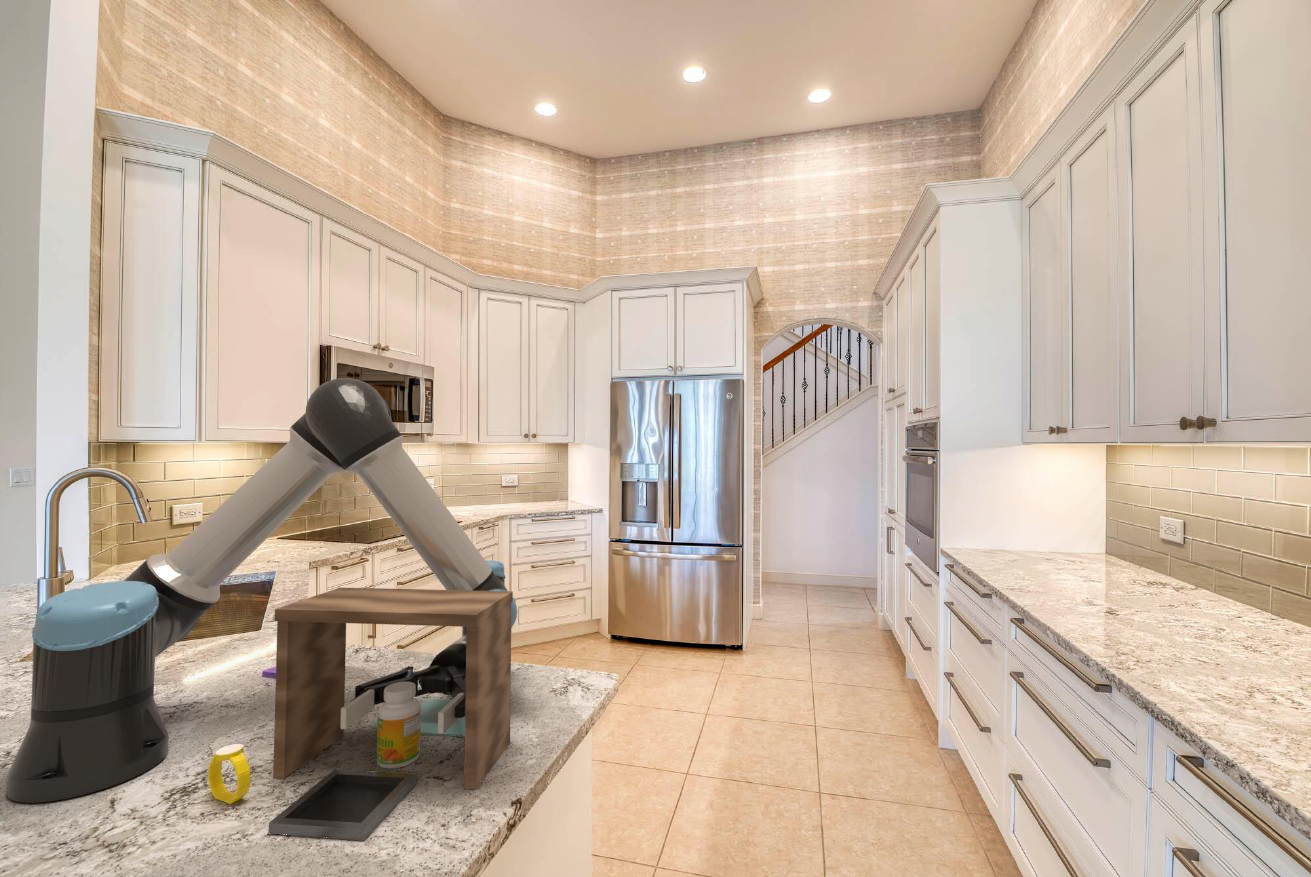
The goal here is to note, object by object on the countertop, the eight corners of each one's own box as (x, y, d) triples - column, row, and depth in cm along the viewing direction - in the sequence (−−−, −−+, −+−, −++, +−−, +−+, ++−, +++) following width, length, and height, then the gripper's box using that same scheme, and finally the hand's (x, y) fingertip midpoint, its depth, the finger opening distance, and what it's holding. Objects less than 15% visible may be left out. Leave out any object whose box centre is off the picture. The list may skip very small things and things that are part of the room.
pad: (425, 699, 98) (425, 698, 98) (494, 702, 97) (494, 701, 97) (386, 732, 86) (386, 730, 86) (463, 736, 85) (463, 734, 85)
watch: (201, 802, 69) (200, 750, 69) (226, 790, 72) (225, 740, 72) (232, 810, 67) (231, 757, 67) (257, 797, 69) (256, 746, 70)
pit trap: (334, 778, 73) (334, 769, 74) (416, 783, 72) (416, 773, 72) (268, 834, 63) (268, 822, 63) (363, 840, 61) (364, 829, 61)
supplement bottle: (367, 763, 77) (369, 690, 78) (402, 746, 82) (403, 676, 82) (394, 773, 75) (396, 697, 75) (428, 755, 79) (429, 683, 80)
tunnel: (336, 732, 86) (339, 587, 87) (511, 740, 84) (512, 591, 84) (270, 779, 73) (274, 609, 74) (474, 791, 71) (476, 614, 71)
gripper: (532, 690, 96) (482, 754, 75) (390, 684, 99) (302, 745, 77) (532, 644, 96) (482, 695, 75) (390, 640, 99) (304, 688, 78)
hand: (391, 721), depth 76 cm, fingers open, 13 cm apart
